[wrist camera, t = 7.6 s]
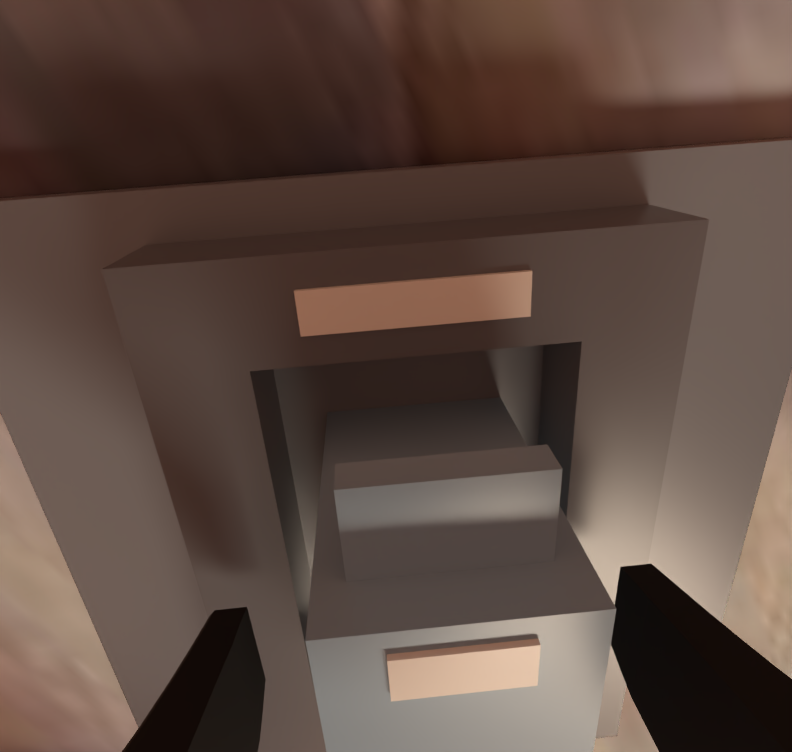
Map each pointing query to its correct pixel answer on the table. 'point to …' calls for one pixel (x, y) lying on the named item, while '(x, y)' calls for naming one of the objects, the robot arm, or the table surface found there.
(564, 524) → the block
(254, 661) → the robot arm
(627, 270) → the chassis
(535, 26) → the table surface
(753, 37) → the table surface
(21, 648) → the table surface
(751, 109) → the table surface
